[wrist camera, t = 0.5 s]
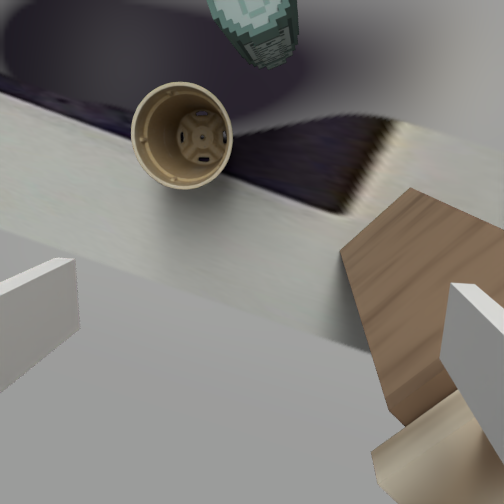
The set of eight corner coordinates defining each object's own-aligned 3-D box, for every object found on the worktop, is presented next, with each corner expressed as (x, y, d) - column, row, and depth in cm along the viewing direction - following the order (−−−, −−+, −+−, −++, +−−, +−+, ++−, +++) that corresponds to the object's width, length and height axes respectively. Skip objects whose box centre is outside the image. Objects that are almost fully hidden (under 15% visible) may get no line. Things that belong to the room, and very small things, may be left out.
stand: (454, 233, 47) (691, 383, 18) (382, 293, 49) (489, 508, 21) (410, 187, 46) (583, 266, 17) (339, 250, 49) (388, 410, 20)
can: (285, -8, 43) (275, -82, 29) (305, 54, 44) (305, 13, 30) (229, 18, 44) (191, -41, 30) (249, 77, 45) (223, 48, 31)
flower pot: (184, 194, 49) (159, 205, 41) (146, 115, 48) (112, 110, 39) (259, 160, 47) (249, 164, 39) (222, 76, 46) (204, 62, 37)
